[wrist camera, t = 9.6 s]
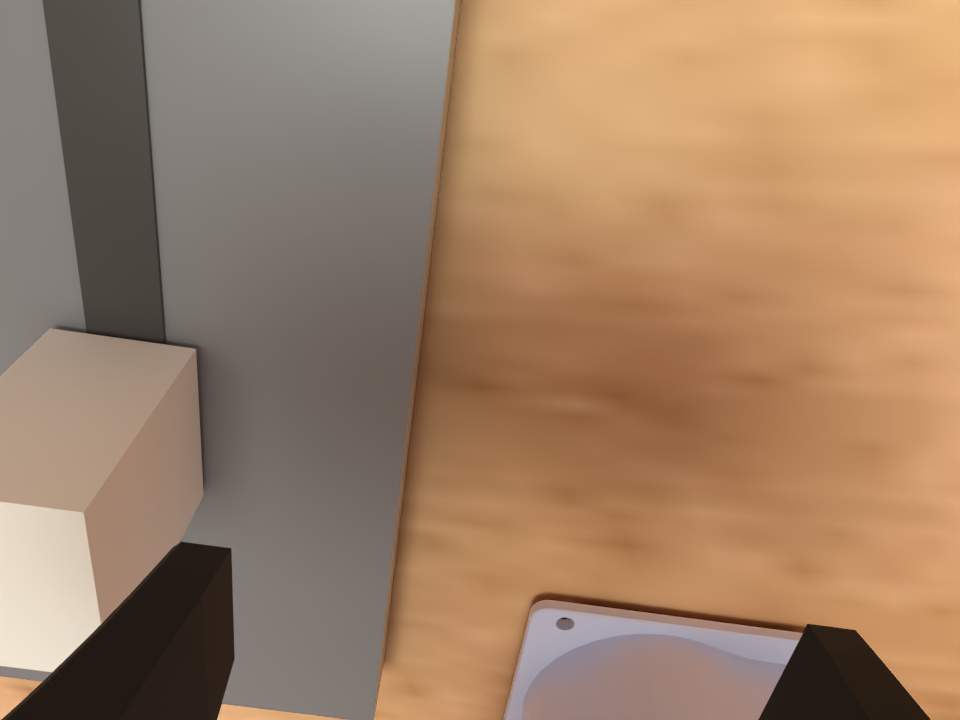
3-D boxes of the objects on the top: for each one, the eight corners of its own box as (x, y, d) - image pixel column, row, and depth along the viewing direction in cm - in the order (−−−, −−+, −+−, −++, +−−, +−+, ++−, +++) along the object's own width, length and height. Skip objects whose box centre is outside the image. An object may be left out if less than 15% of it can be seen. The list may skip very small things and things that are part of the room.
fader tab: (195, 348, 17) (83, 513, 12) (203, 495, 19) (109, 679, 14) (50, 328, 16) (-115, 486, 12) (74, 478, 19) (-61, 658, 14)
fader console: (522, -522, 11) (523, -597, 10) (383, 664, 25) (372, 726, 23) (-342, -679, 11) (-513, -789, 9) (-9, 614, 24) (-51, 673, 23)
